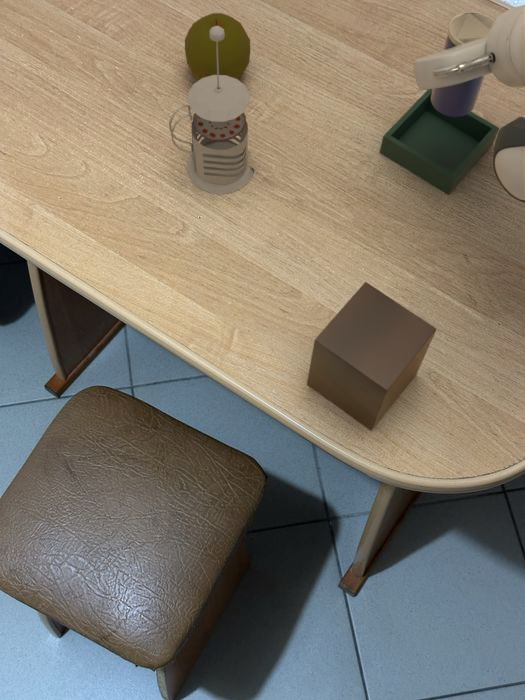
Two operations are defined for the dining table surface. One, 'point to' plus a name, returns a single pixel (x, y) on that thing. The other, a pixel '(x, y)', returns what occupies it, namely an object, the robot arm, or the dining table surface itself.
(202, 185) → the french press
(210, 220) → the dining table surface
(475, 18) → the canister
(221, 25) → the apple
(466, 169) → the bin
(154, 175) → the dining table surface
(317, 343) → the block
